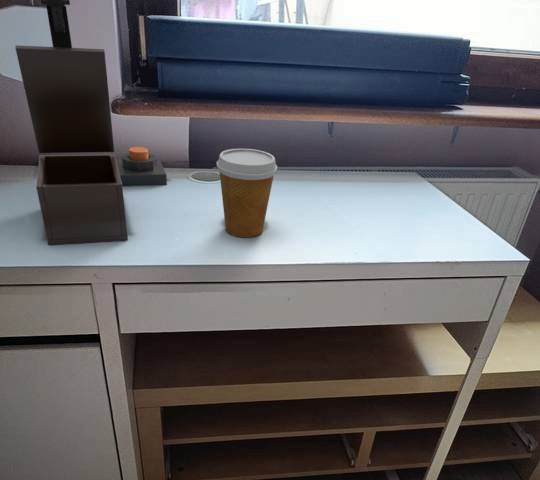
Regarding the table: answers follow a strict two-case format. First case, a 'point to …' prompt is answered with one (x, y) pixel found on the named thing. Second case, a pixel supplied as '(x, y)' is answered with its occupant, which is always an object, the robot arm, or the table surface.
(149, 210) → the table surface
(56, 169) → the dark brown box
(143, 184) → the block
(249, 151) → the disposable coffee cup
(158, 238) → the table surface
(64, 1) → the robot arm
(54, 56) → the grey box lid
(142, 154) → the button
